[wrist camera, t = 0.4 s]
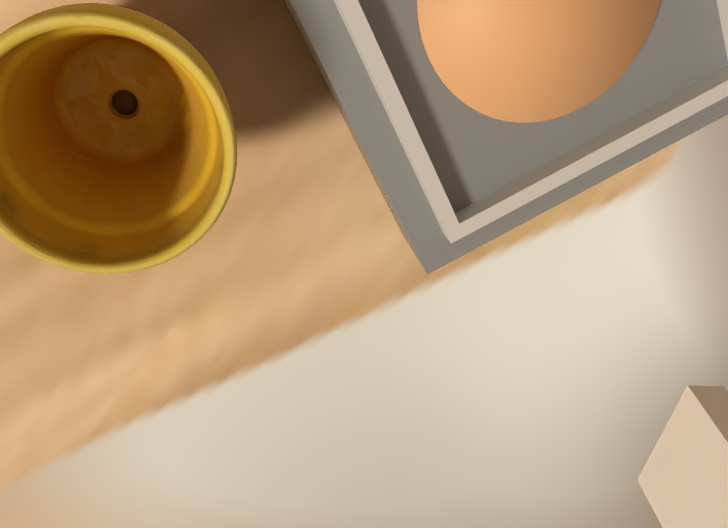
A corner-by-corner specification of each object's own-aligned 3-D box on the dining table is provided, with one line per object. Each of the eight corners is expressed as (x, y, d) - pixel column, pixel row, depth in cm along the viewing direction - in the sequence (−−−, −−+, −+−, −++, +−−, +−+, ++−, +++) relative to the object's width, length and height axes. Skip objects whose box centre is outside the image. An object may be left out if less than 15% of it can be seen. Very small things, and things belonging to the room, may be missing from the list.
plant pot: (270, 118, 37) (290, 178, 28) (118, 230, 38) (93, 322, 29) (133, -61, 32) (107, -53, 23) (-37, 74, 33) (-122, 128, 24)
